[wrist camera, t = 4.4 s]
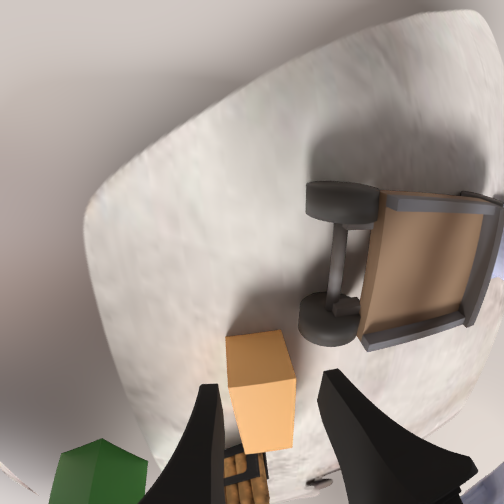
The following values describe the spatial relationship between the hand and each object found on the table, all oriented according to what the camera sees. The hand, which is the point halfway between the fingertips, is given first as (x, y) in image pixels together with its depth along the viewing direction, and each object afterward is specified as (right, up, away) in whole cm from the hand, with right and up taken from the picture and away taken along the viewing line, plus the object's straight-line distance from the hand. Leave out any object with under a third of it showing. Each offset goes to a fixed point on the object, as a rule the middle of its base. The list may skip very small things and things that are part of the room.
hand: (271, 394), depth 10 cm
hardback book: (-24, -26, +17) cm, 39 cm away
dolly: (+10, +6, +8) cm, 14 cm away
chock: (0, -5, +11) cm, 12 cm away
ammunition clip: (-4, -19, +17) cm, 25 cm away
